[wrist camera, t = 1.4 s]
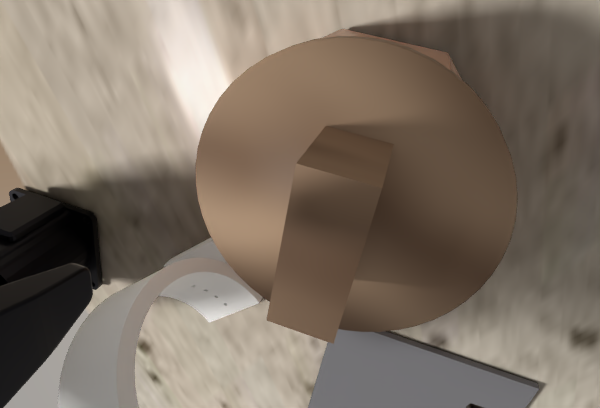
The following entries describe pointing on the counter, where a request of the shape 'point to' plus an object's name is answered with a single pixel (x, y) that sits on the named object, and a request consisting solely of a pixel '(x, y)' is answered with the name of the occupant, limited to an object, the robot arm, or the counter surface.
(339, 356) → the mat
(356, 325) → the lid
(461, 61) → the counter surface
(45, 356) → the robot arm
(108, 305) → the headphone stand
